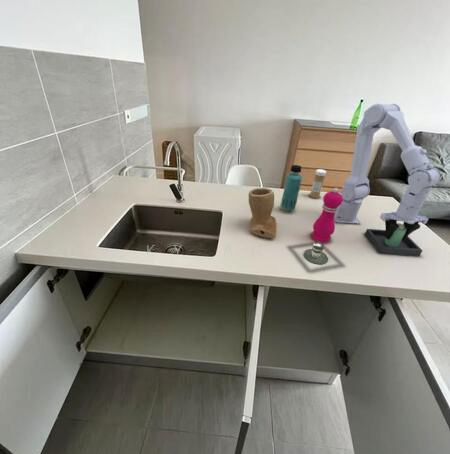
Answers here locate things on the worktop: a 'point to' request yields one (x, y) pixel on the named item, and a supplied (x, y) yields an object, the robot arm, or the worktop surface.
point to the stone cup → (262, 212)
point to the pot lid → (316, 254)
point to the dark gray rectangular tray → (378, 242)
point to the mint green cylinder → (396, 236)
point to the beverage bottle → (291, 188)
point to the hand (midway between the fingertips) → (393, 238)
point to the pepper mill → (327, 216)
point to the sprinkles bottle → (317, 183)
